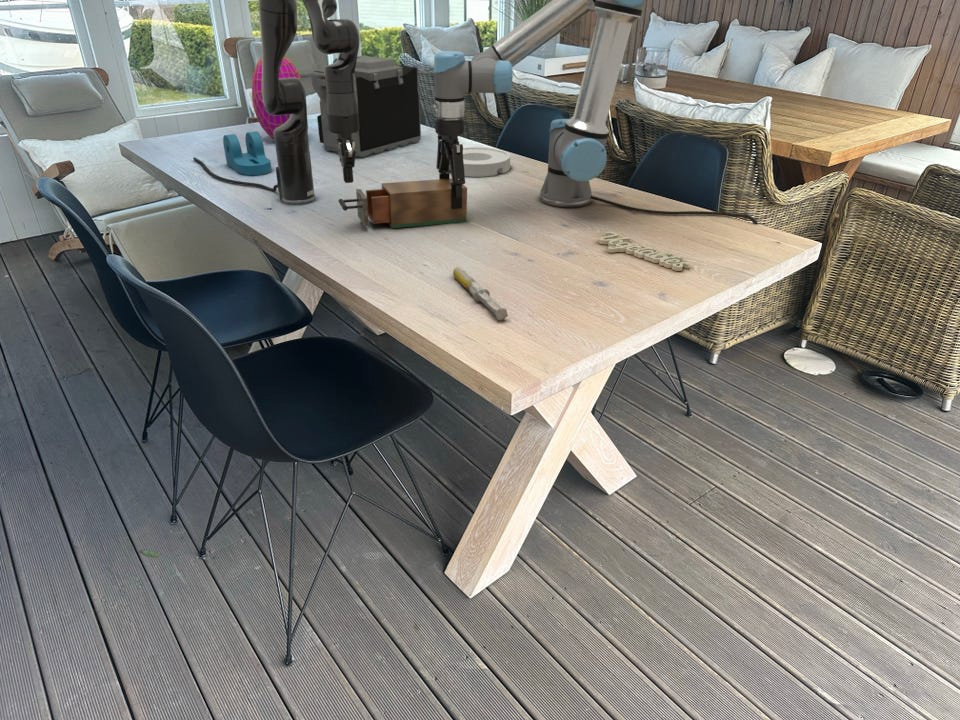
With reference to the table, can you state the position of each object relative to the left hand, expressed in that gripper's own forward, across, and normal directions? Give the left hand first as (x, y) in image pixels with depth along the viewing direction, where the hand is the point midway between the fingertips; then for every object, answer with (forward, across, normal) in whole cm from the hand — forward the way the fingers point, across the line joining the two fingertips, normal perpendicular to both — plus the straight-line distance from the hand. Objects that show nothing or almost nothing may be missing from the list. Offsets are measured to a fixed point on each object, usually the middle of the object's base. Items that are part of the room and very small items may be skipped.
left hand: (348, 181), depth 175 cm
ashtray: (+12, -45, +51) cm, 70 cm away
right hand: (+8, 0, +27) cm, 28 cm away
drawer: (+11, 0, +10) cm, 14 cm away
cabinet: (+12, 0, +20) cm, 23 cm away
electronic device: (+13, -86, +24) cm, 91 cm away
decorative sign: (+12, +41, +62) cm, 75 cm away
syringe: (+12, +51, +17) cm, 55 cm away
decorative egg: (+13, -106, -5) cm, 107 cm away
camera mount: (+12, -68, -21) cm, 72 cm away
